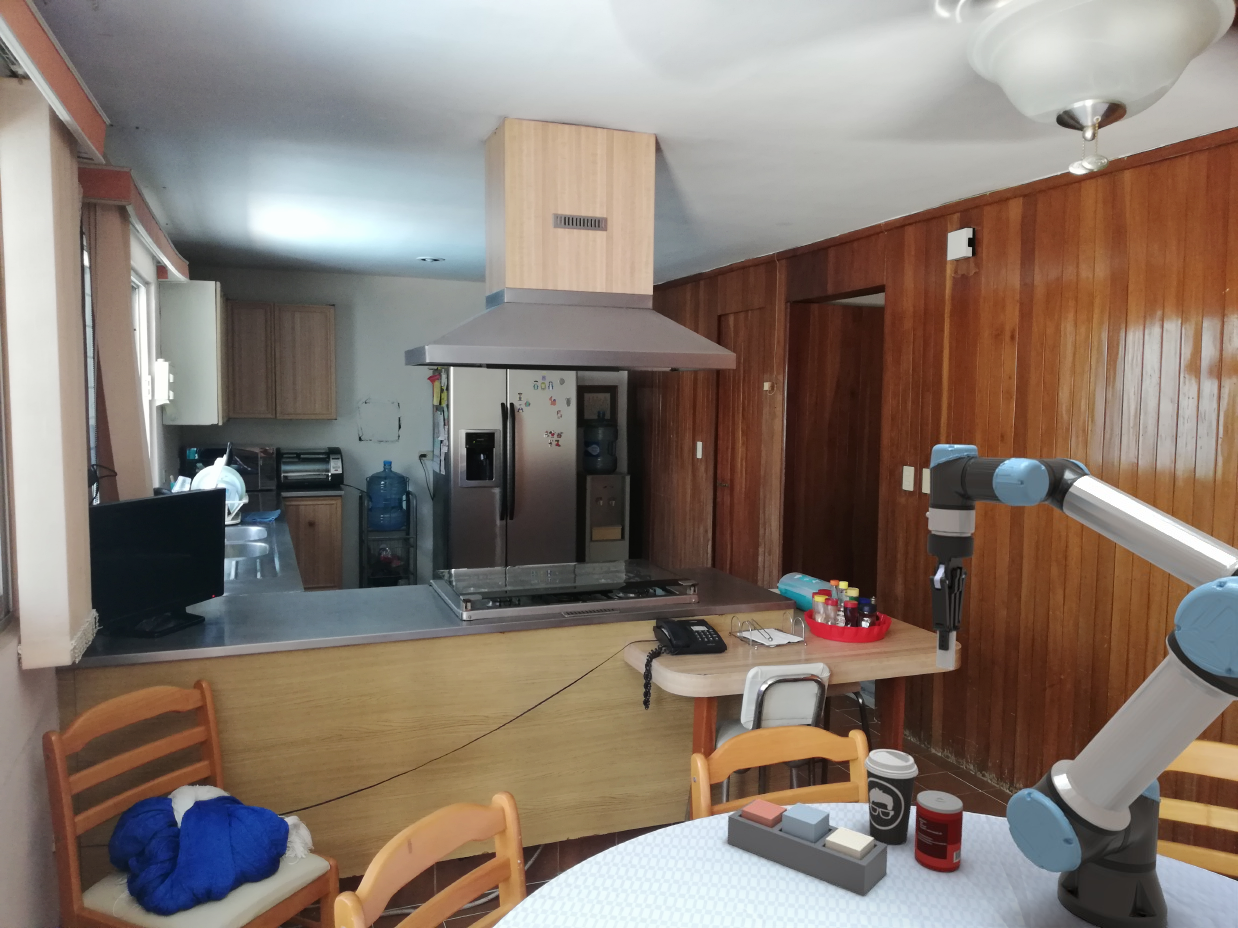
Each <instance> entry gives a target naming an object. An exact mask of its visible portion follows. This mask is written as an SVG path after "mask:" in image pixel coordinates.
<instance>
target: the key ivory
mask: <svg viewBox="0 0 1238 928" xmlns="http://www.w3.org/2000/svg"><path fill="white" fill-rule="evenodd" d="M838 828H839V829H837V830H836V831H835V832H834V833H832V834H831V835H830V836H829V837H827V838H826V845H825V848H828V849H830V850H833V851H836V852H839V853H842V854H844V855H847V856H850V857H853V858H855V859H858V860H862V859H863V858H864V857H865V856H866V855H868V854H869V853H870V852H871V851H872V850H873V849H874V840H875V839H874V838H873V837H871V835H867V834H864V833H861V832H858V831H855V830H853V829H848V828H846V827H843V826H839V827H838Z"/></svg>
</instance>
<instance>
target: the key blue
mask: <svg viewBox="0 0 1238 928" xmlns="http://www.w3.org/2000/svg"><path fill="white" fill-rule="evenodd" d="M829 825H830V812H828V811H826V810H822V809H819V808H817V807H813V806H810V805H807V804H804V803H801V802H797V803H796V804H794V805H793V806H791V807H790V808H789V809H788V808H787V811H786V812H784V813H783V814H782V832H783V833H786V834H789V835H792V836H794V837H797V838H800V839H803V840H805V841H808V842H811V843H814V844H815V843H817V842H818V841H819V840H820V839H822V838H823V837H824V836H825V835H826V834H828V833H829Z"/></svg>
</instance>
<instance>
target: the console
mask: <svg viewBox="0 0 1238 928" xmlns="http://www.w3.org/2000/svg"><path fill="white" fill-rule="evenodd" d="M755 800H756V799H753V800H751V801H750V802H749V803H747V804H745V805H743V807H740V808H739V809H738V810H736V811H734V812H733V813H731V814H730V815H727V816H728V819H727V821H728V822H727V842H726V843H727V844H728V845H731V846H733V847H736V848H738V849H741V850H744V851H746V852H749V853H751V854H754V855H757V856H760V857H762V858H765V859H767V860H770V861H772V862H774V863H777V864H780V865H782V866H785V867H788V868H790V869H792V870H795V871H798V872H801V873H803V874H806V875H808V876H810V877H813V878H816V879H819V880H821V881H823V882H826V883H828V884H829V883H830V884H831V885H833V886H837V887H839V888H842V889H845V890H847V891H850V892H851V893H854V894H858V895H860V896H862V897H865V896H866V895H867V894H868V893H869V892H870V891H871V890H872V889H873V888H874V886H875V885H877V884H878V883H879V882H880V881H881V880H882V878H883V877H884V876H886V875H887V867H888V865H887V864H888V863H887V862H888V844H885V843H881V842H879V841H877V840H875V839H874V849H873V850H872V851H871V852H870V853H869V854H868V855H866V856H865V857H864V858H863V859H862V860H858V859H855V858H853V857H850V856H847V855H844V854H842V853H839V852H836V851H833V850H830V849H828V848H825V845H826V838H827V837H829V836H830V835H831V834H832V833H834V832H835V831H836V830H837V829H839V828H840V827H836V826H833V825H830V824H829V833H828V834H826V835H825V836H824V837H823V838H822V839H820V840H819V841H818V842H817V843H815V844H814V843H811V842H808V841H805V840H803V839H800V838H797V837H794V836H792V835H789V834H786V833H783V832H782V822H780V823H779V824H777V825H776V826H775V827H773V828H769V827H767V826H764V825H761V824H758V823H755V822H753V821H750V820H747V819H744V818H742V817H741V812H742V809H743V808H744V807H746V806H747V805H749V804H751V803H752V802H754V801H755Z"/></svg>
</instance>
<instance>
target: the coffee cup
mask: <svg viewBox="0 0 1238 928" xmlns="http://www.w3.org/2000/svg"><path fill="white" fill-rule="evenodd" d="M863 766H864V768H865V769H866V777H867V795H868V797H867V798H868V799H867V800H868V819H869V833H870V834H869V836H870V837H873V838H874V840H875V841H878V842H881V843H884V844H887V845H889V846H891V845H892V846H899V845H903V844H905V843H906V842H907V838H908V832H909V823H910V816H911V810H912V809H911V808H912V802H913V801H912V800H913V796H914V795H913V794H914V786H915V779H916V776H917V775H919V769H918V767H917V764H916V763H915V759H914V758H913V756H911V755H909V754H908V753H905V752H902V751H899V750H896V749H889V748H888V749H886V748H879V749H873V750H871V751H870V752H869V754H868V756H867V757H866V758H865V760H864V763H863Z"/></svg>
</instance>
